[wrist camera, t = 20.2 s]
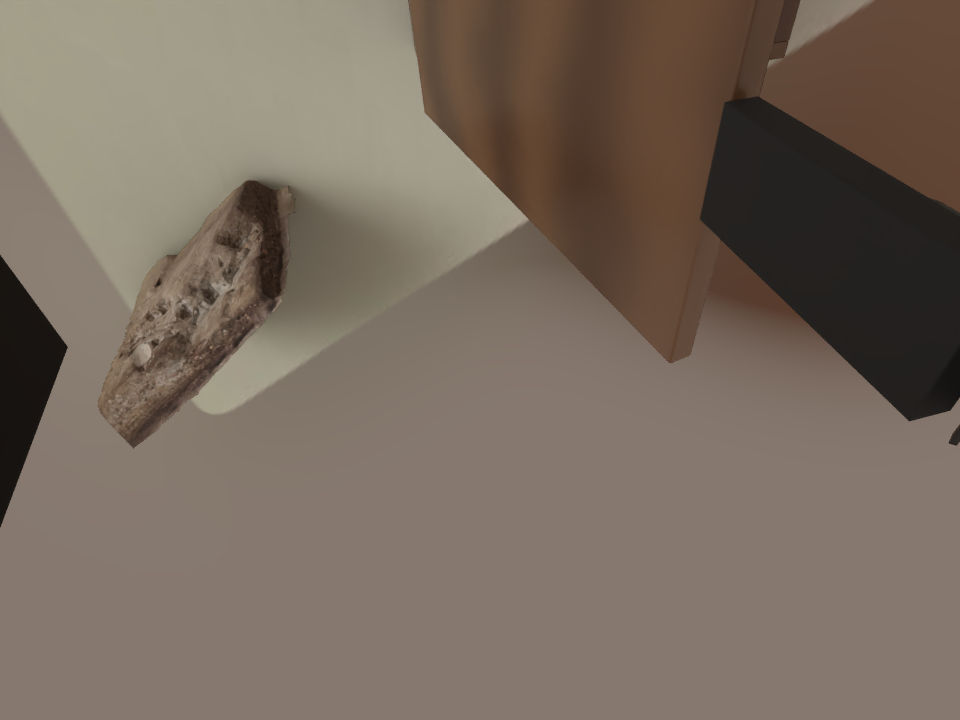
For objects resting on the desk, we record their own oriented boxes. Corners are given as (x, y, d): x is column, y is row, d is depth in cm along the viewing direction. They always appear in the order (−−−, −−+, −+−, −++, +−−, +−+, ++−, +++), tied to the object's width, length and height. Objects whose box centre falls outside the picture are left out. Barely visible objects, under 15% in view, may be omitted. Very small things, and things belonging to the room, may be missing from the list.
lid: (864, -290, 9) (822, -285, 8) (691, 356, 18) (669, 364, 18) (395, -250, 22) (375, -248, 22) (438, 109, 32) (424, 113, 31)
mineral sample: (172, 317, 49) (127, 470, 39) (123, 290, 47) (60, 446, 36) (305, 183, 43) (295, 322, 32) (257, 145, 40) (228, 281, 30)
